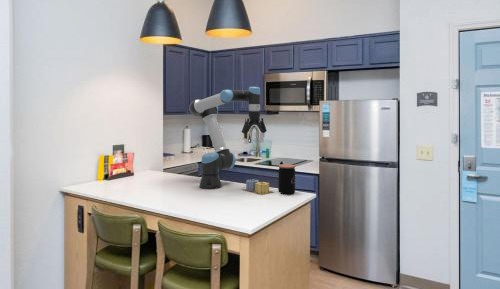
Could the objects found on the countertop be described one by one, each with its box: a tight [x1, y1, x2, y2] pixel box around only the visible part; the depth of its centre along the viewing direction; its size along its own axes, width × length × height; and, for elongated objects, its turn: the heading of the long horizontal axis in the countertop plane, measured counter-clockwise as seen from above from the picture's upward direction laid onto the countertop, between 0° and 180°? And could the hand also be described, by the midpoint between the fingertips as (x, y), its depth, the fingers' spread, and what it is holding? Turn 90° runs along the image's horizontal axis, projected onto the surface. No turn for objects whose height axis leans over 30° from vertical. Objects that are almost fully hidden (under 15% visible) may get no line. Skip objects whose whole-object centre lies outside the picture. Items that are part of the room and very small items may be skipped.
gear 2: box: [254, 181, 270, 195], centre depth 233 cm, size 9×8×6 cm
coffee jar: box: [278, 163, 296, 196], centre depth 235 cm, size 11×11×18 cm
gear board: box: [241, 188, 275, 196], centre depth 237 cm, size 20×12×6 cm, turn 42°
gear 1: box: [245, 178, 260, 191], centre depth 241 cm, size 9×8×6 cm
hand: (254, 143), depth 241 cm, fingers open, 13 cm apart
